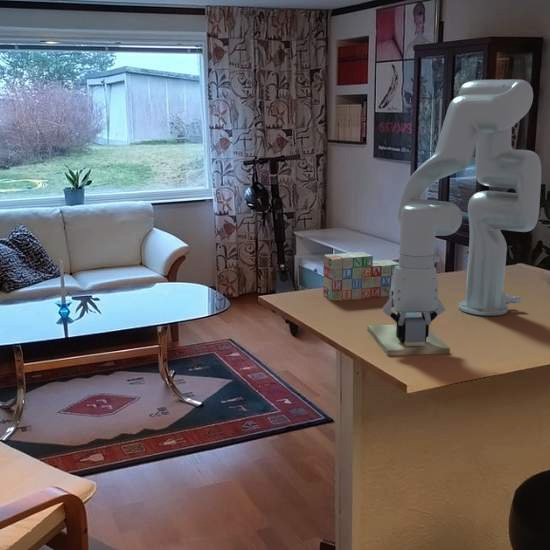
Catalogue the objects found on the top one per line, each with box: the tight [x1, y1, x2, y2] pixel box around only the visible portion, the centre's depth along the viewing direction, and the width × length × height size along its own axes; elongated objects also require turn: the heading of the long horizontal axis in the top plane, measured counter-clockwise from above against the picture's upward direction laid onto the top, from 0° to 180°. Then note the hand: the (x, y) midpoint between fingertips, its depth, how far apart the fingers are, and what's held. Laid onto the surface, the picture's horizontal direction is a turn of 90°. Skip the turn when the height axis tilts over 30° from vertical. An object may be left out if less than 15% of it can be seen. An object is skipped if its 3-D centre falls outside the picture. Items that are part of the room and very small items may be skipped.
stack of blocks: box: [322, 251, 399, 301], centre depth 201 cm, size 21×6×12 cm, turn 109°
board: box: [367, 323, 451, 357], centre depth 163 cm, size 14×18×1 cm
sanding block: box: [404, 312, 426, 346], centre depth 160 cm, size 4×8×6 cm, turn 6°
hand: (412, 339), depth 159 cm, fingers closed on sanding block, 4 cm apart
